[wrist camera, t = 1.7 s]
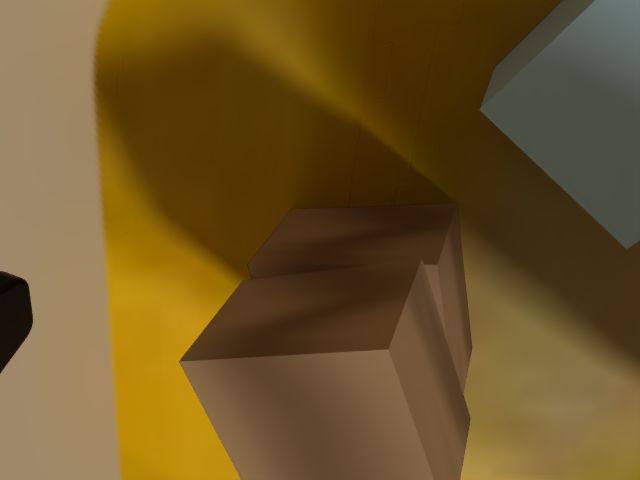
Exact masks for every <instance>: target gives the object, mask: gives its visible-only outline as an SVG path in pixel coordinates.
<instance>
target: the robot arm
mask: <svg viewBox="0 0 640 480" xmlns="http://www.w3.org/2000/svg"><path fill="white" fill-rule="evenodd" d="M32 324H33V315H32V307H31V299H30V292H29V286H28V283H27V282H26V281H25V280H24V279H22V278H20V277H17V276H15V275H12V274H9V273H7V272H3V271H0V373H1V372H2V370H3V369H4V368H5V366H6V365H7V364H8V362H9V361H10V359H11V358H12V357H13V355H14V354H15V353H16V351H17V350H18V349H19V347H20V346H21V344H22V343H23V342H24V340H25V339H26V338H27V336H28V334H29V332H30V330H31V328H32Z"/></svg>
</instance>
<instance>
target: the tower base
mask: <svg viewBox="0 0 640 480" xmlns="http://www.w3.org/2000/svg"><path fill="white" fill-rule="evenodd" d="M420 258H422V260H423V263H424V267H425V270H426V273H427V276H428V280H429V283H430V286H431V290H432V293H433V296H434V300H435V303H436V306H437V309H438V313H439V316H440V319H441V323H442V326H443V329H444V333H445V336H446V339H447V343H448V346H449V349H450V352H451V356H452V359H453V362H454V366H455V369H456V372H457V376H458V379H459V382H460V385H461V389H462V392H463V393H464V388H465V383H466V378H467V373H468V367H469V362H470V357H471V352H472V340H471V331H470V321H469V312H468V302H467V293H466V283H465V274H464V264H463V255H462V245H461V236H460V226H459V216H458V207H457V204H428V205H399V206H369V207H340V208H311V209H291V210H290V212H289V213H288V214H287V215H286V217H285V218H284V219H283V220H282V222H281V223H280V224H279V225H278V227H277V228H276V229H275V230H274V231H273V233H272V234H271V235H270V236H269V238H268V239H267V240H266V241H265V243H264V244H263V245H262V246H261V248H260V249H259V250H258V251H257V253H256V254H255V255H254V256H253V258H252V259H251V260H250V261H249V263H248V264H247V265H248V268H249V272H250V275H251V278H252V279H260V278H268V277H276V276H284V275H292V274H300V273H308V272H316V271H324V270H332V269H340V268H348V267H356V266H364V265H372V264H380V263H388V262H396V261H404V260H412V259H420Z"/></svg>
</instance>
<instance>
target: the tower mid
mask: <svg viewBox="0 0 640 480" xmlns="http://www.w3.org/2000/svg"><path fill="white" fill-rule="evenodd" d="M179 363H180V364H181V366H182V368H183V370H184V372H185V374H186V376H187V378H188V380H189V381H190V383H191V385H192V387H193V389H194V391H195V393H196V395H197V397H198V399H199V400H200V402H201V404H202V406H203V408H204V410H205V412H206V414H207V416H208V417H209V419H210V421H211V423H212V425H213V427H214V429H215V431H216V433H217V434H218V436H219V438H220V440H221V442H222V444H223V446H224V448H225V450H226V452H227V453H228V455H229V457H230V459H231V461H232V463H233V465H234V467H235V469H236V470H237V472H238V474H239V476H240V478H241V480H460V477H461V471H462V466H463V460H464V454H465V448H466V442H467V437H468V431H469V425H470V415H469V412H468V409H467V405H466V402H465V399H464V395H463V392H462V389H461V385H460V382H459V379H458V376H457V372H456V369H455V366H454V362H453V359H452V356H451V352H450V349H449V346H448V343H447V339H446V336H445V333H444V329H443V326H442V323H441V319H440V316H439V313H438V309H437V306H436V303H435V300H434V296H433V293H432V290H431V286H430V283H429V280H428V276H427V273H426V270H425V267H424V263H423V260H422V258H420V259H412V260H404V261H396V262H388V263H380V264H372V265H364V266H356V267H348V268H340V269H332V270H324V271H316V272H308V273H300V274H292V275H284V276H276V277H268V278H260V279H252V280H244V281H242V282H241V283H240V285H239V286H238V287H237V288H236V290H235V291H234V292H233V294H232V295H231V296H230V297H229V299H228V300H227V301H226V302H225V304H224V305H223V306H222V308H221V309H220V310H219V311H218V313H217V314H216V315H215V316H214V318H213V319H212V320H211V322H210V323H209V324H208V325H207V327H206V328H205V329H204V330H203V332H202V333H201V334H200V336H199V337H198V338H197V339H196V341H195V342H194V343H193V344H192V346H191V347H190V348H189V350H188V351H187V352H186V353H185V355H184V356H183V357H182V358H181V360H180V361H179Z"/></svg>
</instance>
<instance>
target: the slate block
mask: <svg viewBox="0 0 640 480" xmlns="http://www.w3.org/2000/svg"><path fill="white" fill-rule="evenodd" d="M480 111H481V112H482V113H483V114H484V115H485V116H486V117H487V118H488V119H489V120H490V121H491V122H492V123H494V124H495V125H496V126H497V127H498V128H499V129H500V130H501V131H502V132H503V133H504V134H505V135H506V136H507V137H508V138H509V139H510V140H512V141H513V142H514V143H515V144H516V145H517V146H518V147H519V148H520V149H521V150H522V151H523V152H524V153H525V154H526V155H527V156H528V157H530V158H531V159H532V160H533V161H534V162H535V163H536V164H537V165H538V166H539V167H540V168H541V169H542V170H543V171H544V172H545V173H546V174H548V175H549V176H550V177H551V178H552V179H553V180H554V181H555V182H556V183H557V184H558V185H559V186H560V187H561V188H562V189H563V190H564V191H566V192H567V193H568V194H569V195H570V196H571V197H572V198H573V199H574V200H575V201H576V202H577V203H578V204H579V205H580V206H581V207H582V208H583V209H585V210H586V211H587V212H588V213H589V214H590V215H591V216H592V217H593V218H594V219H595V220H596V221H597V222H598V223H599V224H600V225H601V226H603V227H604V228H605V229H606V230H607V231H608V232H609V233H610V234H611V235H612V236H613V237H614V238H615V239H616V240H617V241H618V242H619V243H621V244H622V245H623V246H624V247H625V248H626V249H628V248H629V247H631V246H632V245H634V244H635V243H637V242H638V241H640V0H563V1H562V2H561V3H560V4H559V5H558V6H557V7H556V8H555V9H554V10H553V11H552V12H551V13H550V14H549V15H548V16H547V17H546V18H545V19H544V20H543V21H542V22H541V23H540V24H539V25H538V26H537V27H536V28H535V29H534V30H532V31H531V32H530V33H529V34H528V35H527V36H526V37H525V38H524V39H523V40H522V41H521V42H520V43H519V44H518V45H517V46H516V47H515V48H514V49H513V50H512V51H511V52H510V53H509V54H508V55H507V56H506V57H505V58H504V59H503V60H502V61H501V62H500V63H499V64H498V65H497V66H496V67H495V68H494V71H493V74H492V77H491V79H490V82H489V85H488V88H487V91H486V93H485V96H484V99H483V102H482V104H481V107H480Z"/></svg>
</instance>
